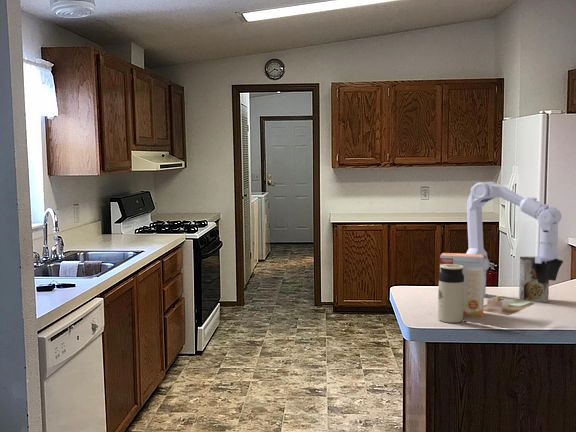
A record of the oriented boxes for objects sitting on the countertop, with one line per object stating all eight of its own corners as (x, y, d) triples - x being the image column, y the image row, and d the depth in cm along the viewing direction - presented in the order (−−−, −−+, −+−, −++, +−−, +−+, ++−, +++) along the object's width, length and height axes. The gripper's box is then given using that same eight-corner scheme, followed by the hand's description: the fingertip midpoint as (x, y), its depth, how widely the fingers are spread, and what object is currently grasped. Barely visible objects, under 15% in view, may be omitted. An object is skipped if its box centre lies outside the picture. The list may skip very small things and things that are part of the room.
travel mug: (462, 317, 205) (463, 264, 203) (463, 324, 197) (465, 268, 196) (437, 316, 207) (438, 263, 205) (438, 322, 199) (439, 267, 198)
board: (474, 312, 213) (475, 296, 212) (502, 300, 229) (503, 286, 229) (508, 318, 205) (509, 301, 204) (535, 306, 221) (535, 291, 220)
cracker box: (483, 315, 208) (485, 254, 206) (482, 319, 203) (483, 256, 201) (441, 311, 213) (442, 251, 211) (438, 315, 208) (439, 254, 206)
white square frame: (487, 309, 212) (487, 299, 212) (493, 306, 216) (494, 297, 215) (501, 312, 208) (502, 301, 208) (508, 309, 212) (508, 299, 212)
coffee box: (543, 298, 233) (544, 256, 231) (548, 302, 226) (550, 259, 225) (518, 298, 233) (519, 256, 232) (522, 302, 227) (524, 258, 226)
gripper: (549, 246, 206) (548, 286, 207) (569, 242, 215) (567, 280, 216) (529, 243, 211) (528, 283, 212) (549, 240, 220) (548, 277, 222)
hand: (546, 281), depth 215 cm, fingers open, 7 cm apart
